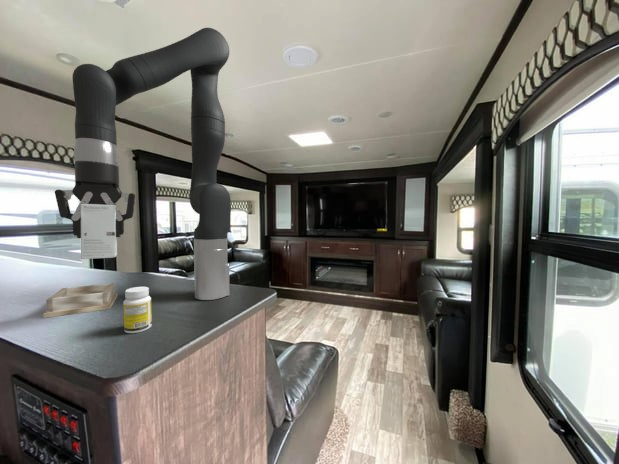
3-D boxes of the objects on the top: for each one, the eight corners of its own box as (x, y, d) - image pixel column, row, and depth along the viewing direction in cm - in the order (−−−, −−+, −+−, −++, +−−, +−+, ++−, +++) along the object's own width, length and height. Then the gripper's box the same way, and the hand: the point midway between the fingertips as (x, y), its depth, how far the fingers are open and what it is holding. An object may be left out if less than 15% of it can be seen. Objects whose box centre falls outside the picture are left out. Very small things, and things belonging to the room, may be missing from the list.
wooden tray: (117, 295, 72) (117, 282, 72) (110, 308, 62) (109, 293, 62) (61, 302, 66) (60, 288, 66) (42, 318, 56) (42, 300, 55)
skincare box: (80, 260, 52) (78, 203, 52) (84, 257, 56) (82, 204, 56) (116, 257, 56) (115, 204, 55) (118, 255, 60) (117, 205, 59)
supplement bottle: (135, 323, 53) (134, 285, 53) (156, 324, 53) (156, 286, 53) (117, 333, 49) (116, 292, 48) (141, 334, 48) (140, 292, 48)
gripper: (137, 169, 62) (139, 235, 63) (58, 162, 54) (61, 237, 55) (135, 164, 56) (137, 237, 56) (45, 154, 48) (49, 239, 49)
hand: (99, 237), depth 56 cm, fingers closed on skincare box, 6 cm apart
